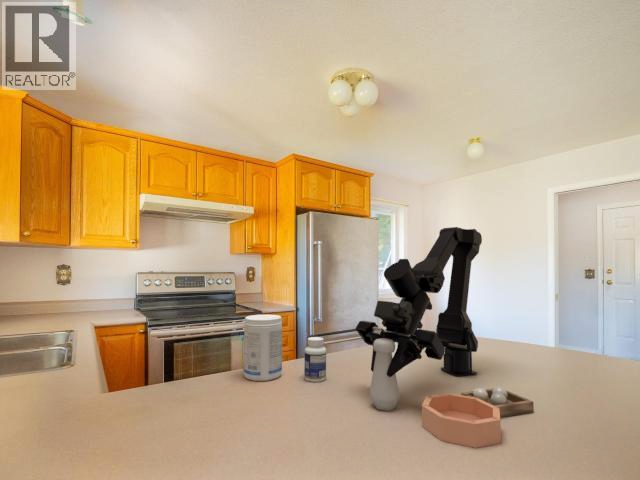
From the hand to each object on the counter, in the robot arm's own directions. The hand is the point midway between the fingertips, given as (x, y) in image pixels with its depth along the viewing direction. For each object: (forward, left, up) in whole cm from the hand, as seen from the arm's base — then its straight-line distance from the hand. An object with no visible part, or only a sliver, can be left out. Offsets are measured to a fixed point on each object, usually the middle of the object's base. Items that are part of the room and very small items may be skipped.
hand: (380, 373), depth 66 cm
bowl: (-9, +11, -7) cm, 16 cm away
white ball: (-24, +5, -5) cm, 25 cm away
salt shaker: (-1, -1, -7) cm, 7 cm away
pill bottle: (+7, -21, -7) cm, 23 cm away
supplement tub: (+19, -27, -7) cm, 33 cm away
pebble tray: (-22, +6, -7) cm, 24 cm away
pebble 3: (-21, +8, -5) cm, 23 cm away
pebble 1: (-20, +5, -5) cm, 21 cm away
